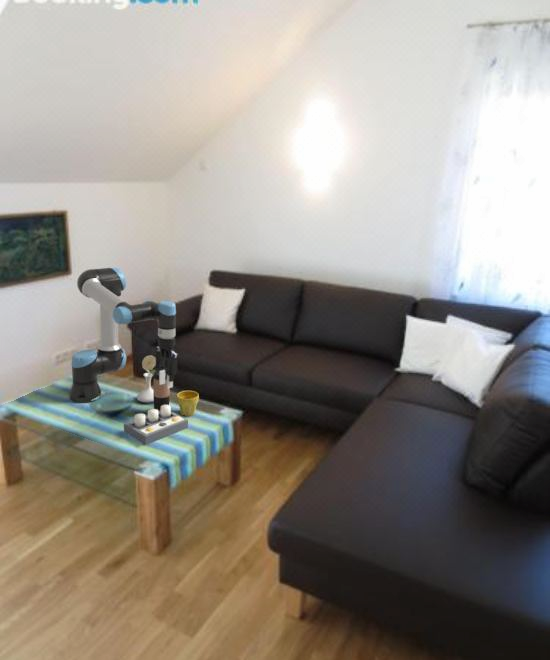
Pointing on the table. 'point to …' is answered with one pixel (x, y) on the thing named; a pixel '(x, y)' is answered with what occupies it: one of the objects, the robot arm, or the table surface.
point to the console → (155, 435)
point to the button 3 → (165, 411)
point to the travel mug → (160, 392)
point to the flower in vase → (147, 379)
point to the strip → (162, 425)
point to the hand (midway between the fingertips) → (166, 385)
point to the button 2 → (152, 416)
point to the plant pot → (187, 402)
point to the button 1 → (139, 420)
